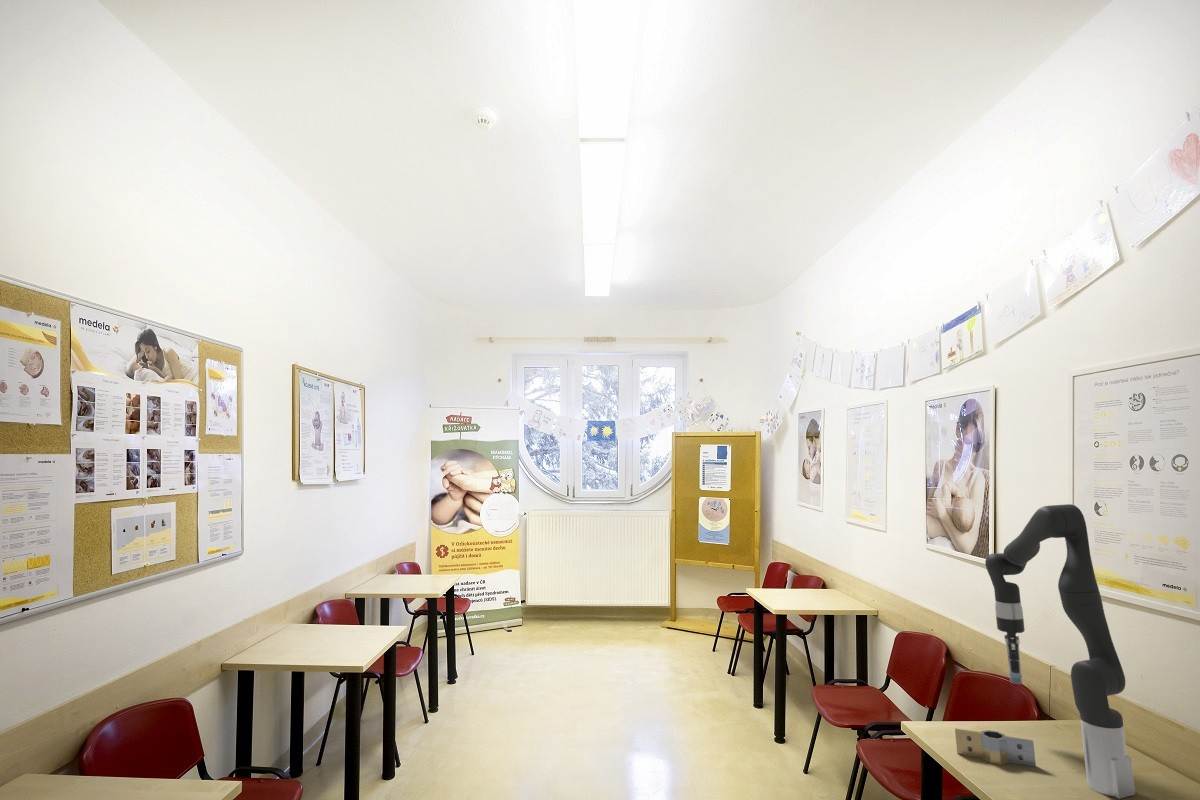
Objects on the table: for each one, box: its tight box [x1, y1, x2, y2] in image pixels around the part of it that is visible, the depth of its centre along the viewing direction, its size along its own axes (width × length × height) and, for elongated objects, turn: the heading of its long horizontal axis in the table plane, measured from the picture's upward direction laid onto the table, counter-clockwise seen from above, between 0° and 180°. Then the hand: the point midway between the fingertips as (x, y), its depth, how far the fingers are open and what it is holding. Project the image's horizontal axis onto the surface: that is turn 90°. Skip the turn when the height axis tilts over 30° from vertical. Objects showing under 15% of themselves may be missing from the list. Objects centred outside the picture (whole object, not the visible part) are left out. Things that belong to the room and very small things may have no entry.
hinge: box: [954, 727, 1037, 768], centre depth 188 cm, size 20×6×7 cm, turn 60°
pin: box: [1006, 646, 1023, 685], centre depth 205 cm, size 3×3×12 cm
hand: (1015, 670), depth 205 cm, fingers closed on pin, 3 cm apart
